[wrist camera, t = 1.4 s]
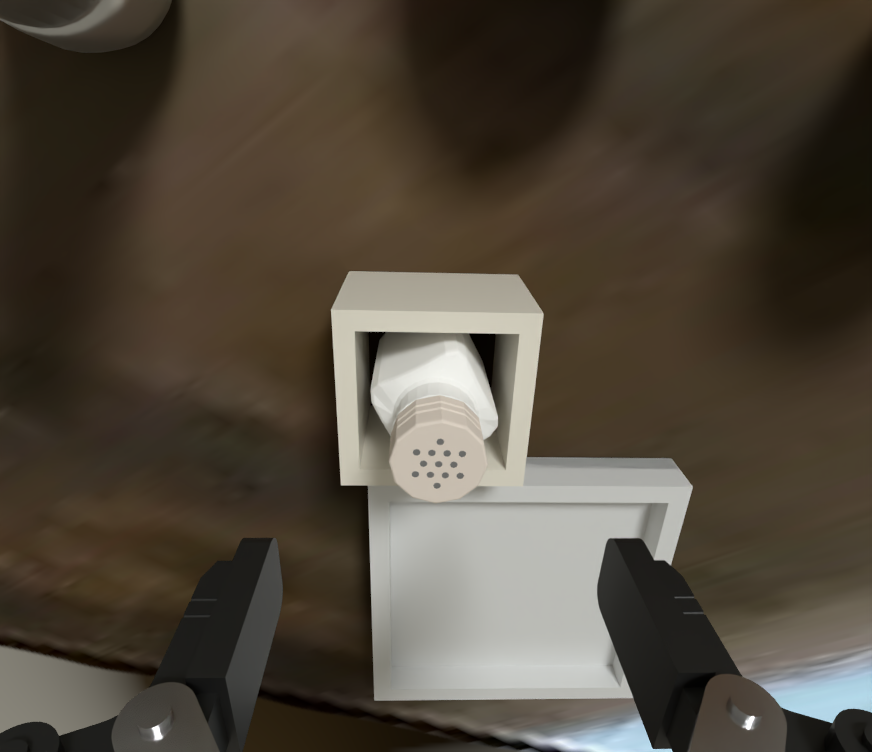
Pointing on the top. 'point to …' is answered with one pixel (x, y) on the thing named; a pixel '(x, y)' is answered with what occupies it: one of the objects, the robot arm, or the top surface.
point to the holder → (434, 313)
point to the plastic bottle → (86, 21)
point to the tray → (511, 579)
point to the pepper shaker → (434, 412)
